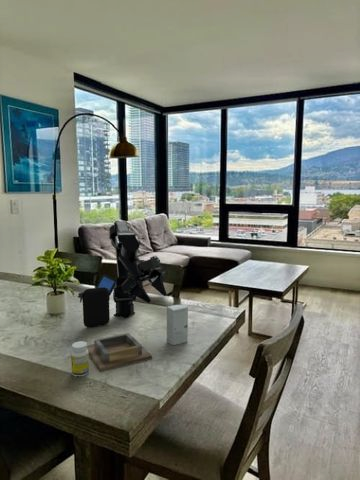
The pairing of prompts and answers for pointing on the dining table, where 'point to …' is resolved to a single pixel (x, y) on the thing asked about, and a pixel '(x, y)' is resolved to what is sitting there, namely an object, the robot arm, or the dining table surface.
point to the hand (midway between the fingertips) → (158, 298)
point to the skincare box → (177, 324)
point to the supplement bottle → (80, 359)
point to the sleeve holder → (117, 351)
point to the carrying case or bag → (95, 307)
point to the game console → (105, 284)
